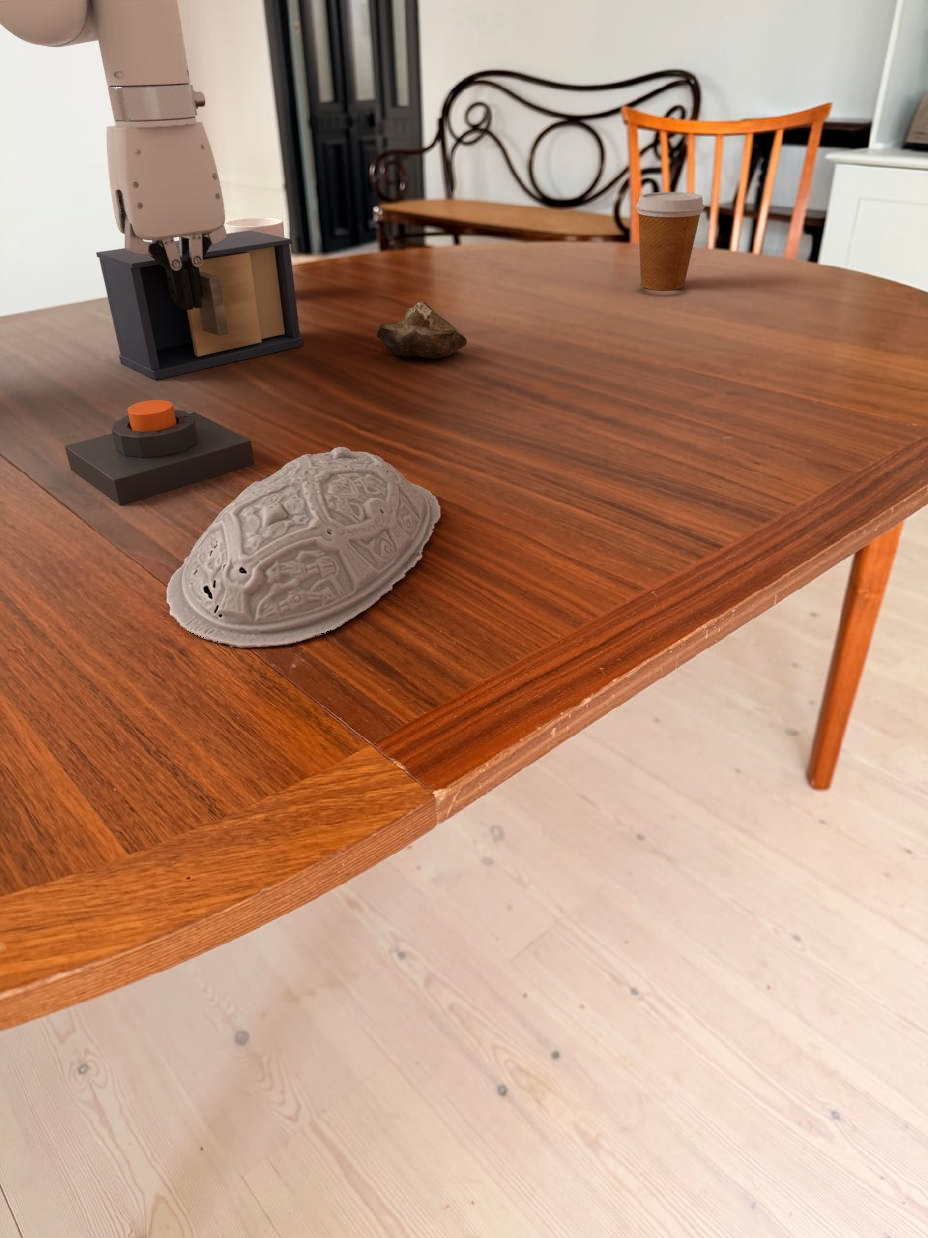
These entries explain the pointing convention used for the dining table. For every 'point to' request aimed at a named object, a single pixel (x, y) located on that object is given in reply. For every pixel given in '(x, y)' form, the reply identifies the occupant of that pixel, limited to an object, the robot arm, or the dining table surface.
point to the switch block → (158, 457)
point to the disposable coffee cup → (667, 237)
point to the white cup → (257, 226)
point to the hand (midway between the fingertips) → (188, 306)
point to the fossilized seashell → (421, 334)
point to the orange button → (151, 415)
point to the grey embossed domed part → (303, 551)
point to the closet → (162, 330)
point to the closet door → (225, 306)
